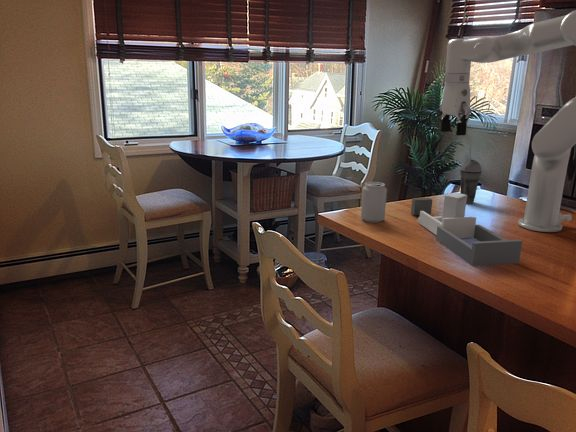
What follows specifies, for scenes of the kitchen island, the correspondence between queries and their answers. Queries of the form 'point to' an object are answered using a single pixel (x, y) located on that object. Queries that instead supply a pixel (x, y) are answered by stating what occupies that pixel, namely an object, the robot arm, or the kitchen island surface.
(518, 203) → the kitchen island surface
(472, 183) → the beverage cup
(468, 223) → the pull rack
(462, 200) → the skincare box
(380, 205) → the can
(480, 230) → the tray
